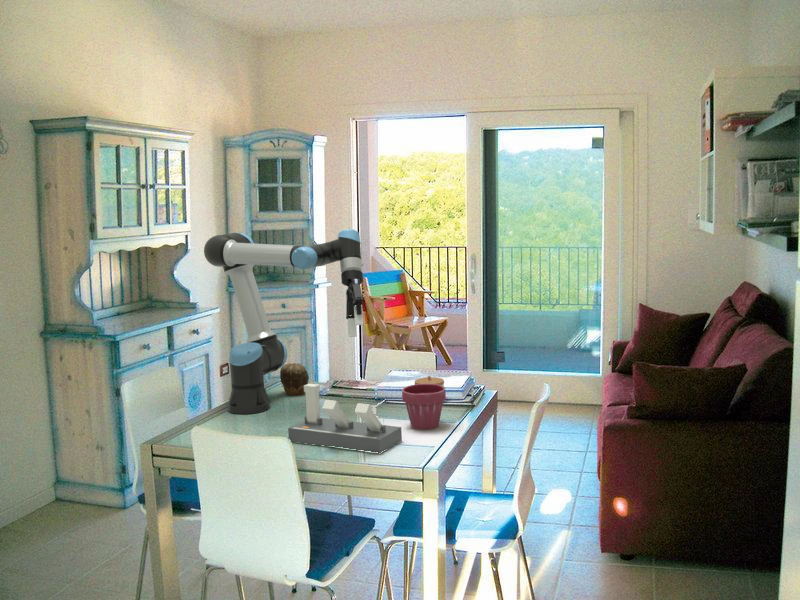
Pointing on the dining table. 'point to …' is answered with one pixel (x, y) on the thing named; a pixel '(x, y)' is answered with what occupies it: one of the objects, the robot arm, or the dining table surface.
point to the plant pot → (424, 404)
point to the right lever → (368, 417)
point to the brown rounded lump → (294, 379)
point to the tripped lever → (312, 402)
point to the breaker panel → (345, 435)
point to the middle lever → (336, 413)
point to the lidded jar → (430, 381)
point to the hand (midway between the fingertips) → (356, 330)
